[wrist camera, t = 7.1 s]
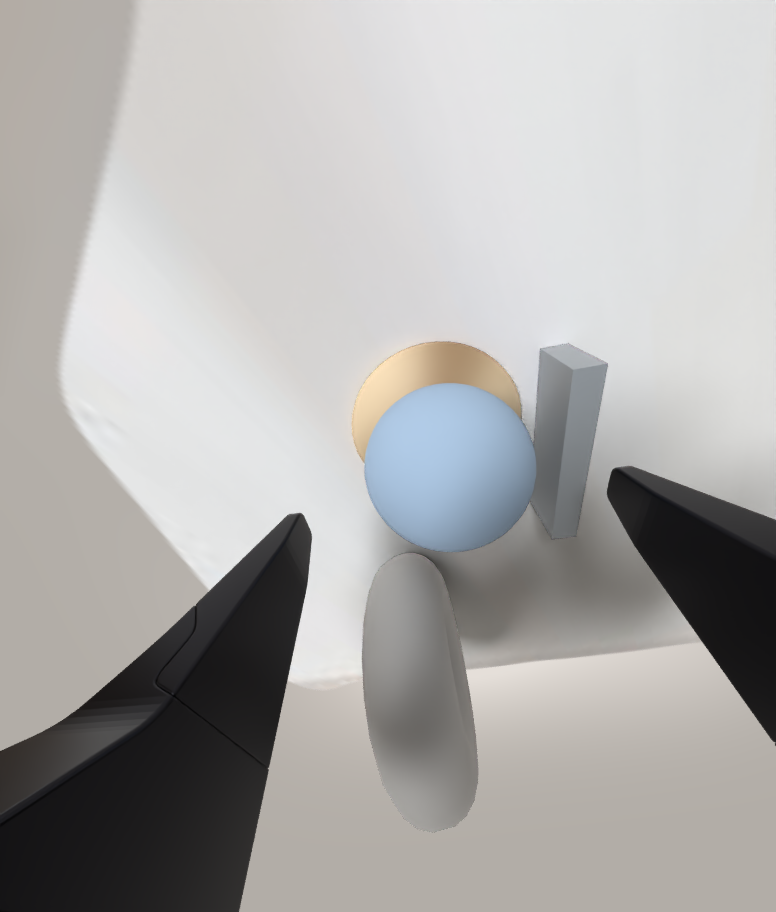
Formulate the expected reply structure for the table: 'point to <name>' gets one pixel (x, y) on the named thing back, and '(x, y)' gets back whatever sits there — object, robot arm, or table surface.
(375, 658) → the white plump rounded part
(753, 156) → the table surface
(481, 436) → the ball
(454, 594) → the table surface
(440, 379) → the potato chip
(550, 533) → the gray rectangular bar
